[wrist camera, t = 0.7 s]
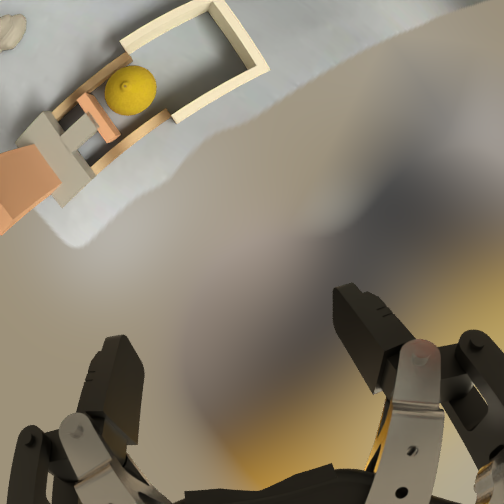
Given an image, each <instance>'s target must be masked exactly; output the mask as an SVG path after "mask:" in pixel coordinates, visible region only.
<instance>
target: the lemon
mask: <svg viewBox="0 0 504 504" xmlns="http://www.w3.org/2000/svg"><path fill="white" fill-rule="evenodd" d="M156 87H157V86H156V81H155V79H154V77H153V75H152V74H151V73H150V72H149V71H148V70H147V69H145V68H143V67H140V66H127V67H123V68H121V69H119V70H117V71H116V72H115V73H114V74H113V75H112V76H111V77H110V78H109V80H108V82H107V84H106V87H105V100H106V102H107V104H108V106H109V107H110V109H111V110H113V111H114V112H115V113H118V114H121V115H127V116H129V115H135V114H138V113H140V112H142V111H143V110H145V109H146V108H147V107H148V106H149V105H150V104H151V103H152V101H153V99H154V97H155V94H156Z"/></svg>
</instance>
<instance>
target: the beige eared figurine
mask: <svg viewBox="0 0 504 504" xmlns="http://www.w3.org/2000/svg"><path fill="white" fill-rule="evenodd" d="M25 31H26V18H25V17H24V16H23V15H21V14H17V15H14V16H11V15H9V14H8V15H4V16H2V17H0V53H1V52H2V50H9V49H13V48H15V47H16V45H17V44H18V43H19V42H20V40H21V39H22V37H23V35H24V33H25Z"/></svg>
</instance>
